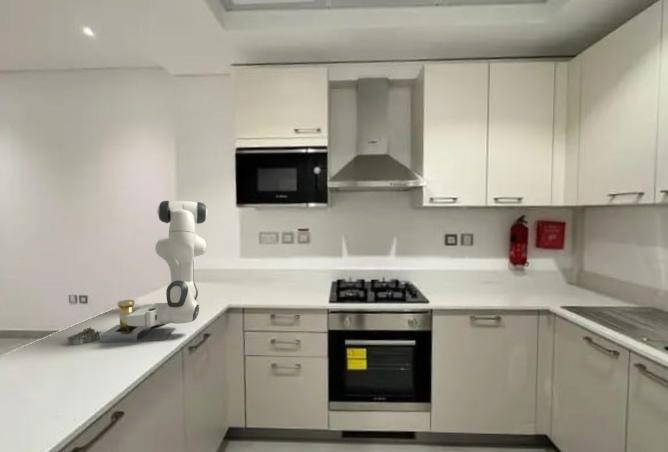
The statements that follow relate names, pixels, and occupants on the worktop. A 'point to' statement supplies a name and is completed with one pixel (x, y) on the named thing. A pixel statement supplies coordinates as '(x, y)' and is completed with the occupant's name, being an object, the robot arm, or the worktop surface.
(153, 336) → the mat
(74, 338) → the egg carton
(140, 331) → the housing
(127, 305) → the round headed pin
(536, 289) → the worktop surface
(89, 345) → the worktop surface
